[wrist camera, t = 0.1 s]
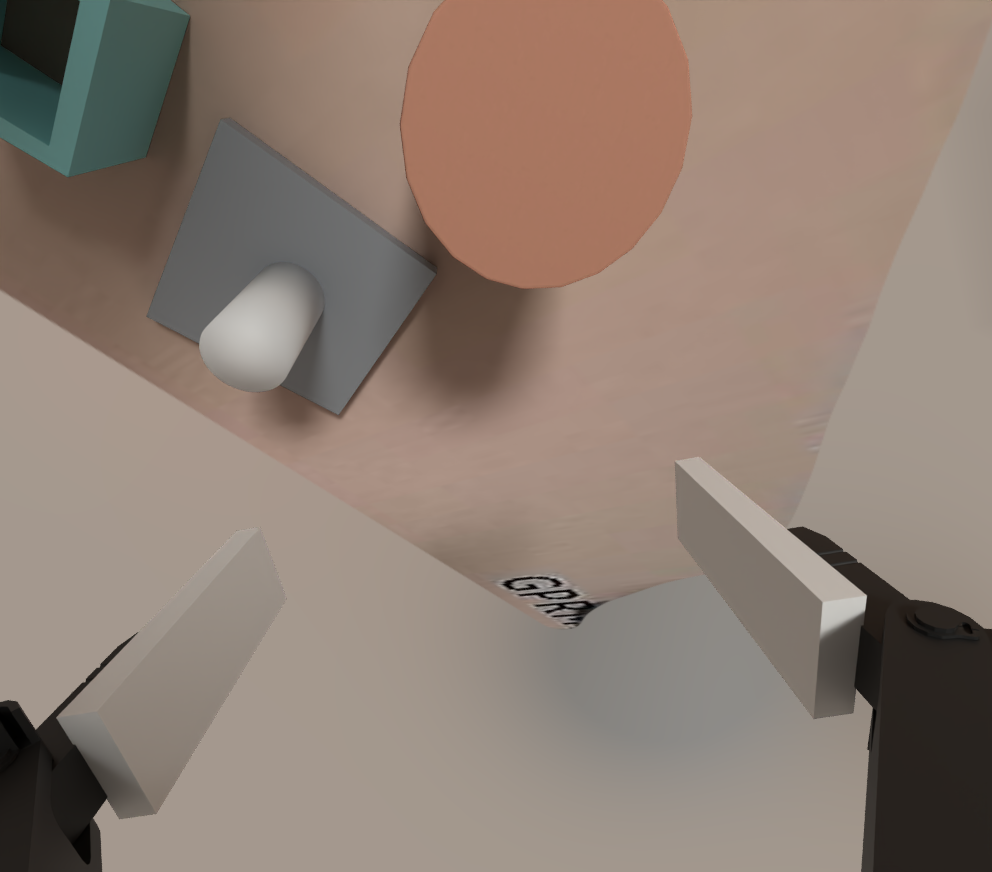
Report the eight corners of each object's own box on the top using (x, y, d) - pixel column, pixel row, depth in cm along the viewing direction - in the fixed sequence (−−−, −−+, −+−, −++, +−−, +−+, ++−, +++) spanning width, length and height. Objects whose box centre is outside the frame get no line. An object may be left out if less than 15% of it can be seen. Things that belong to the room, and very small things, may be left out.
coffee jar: (474, 231, 36) (489, 333, 21) (390, 75, 30) (333, 71, 15) (605, 152, 33) (722, 209, 19) (542, -35, 27) (643, -162, 13)
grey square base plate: (229, 117, 30) (134, 134, 21) (436, 267, 37) (432, 329, 28) (156, 309, 37) (60, 383, 28) (341, 406, 44) (312, 491, 35)
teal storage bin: (0, -134, 24) (-167, -213, 17) (190, 15, 27) (111, -4, 21) (-24, 48, 27) (-166, 39, 21) (145, 157, 31) (67, 177, 25)
